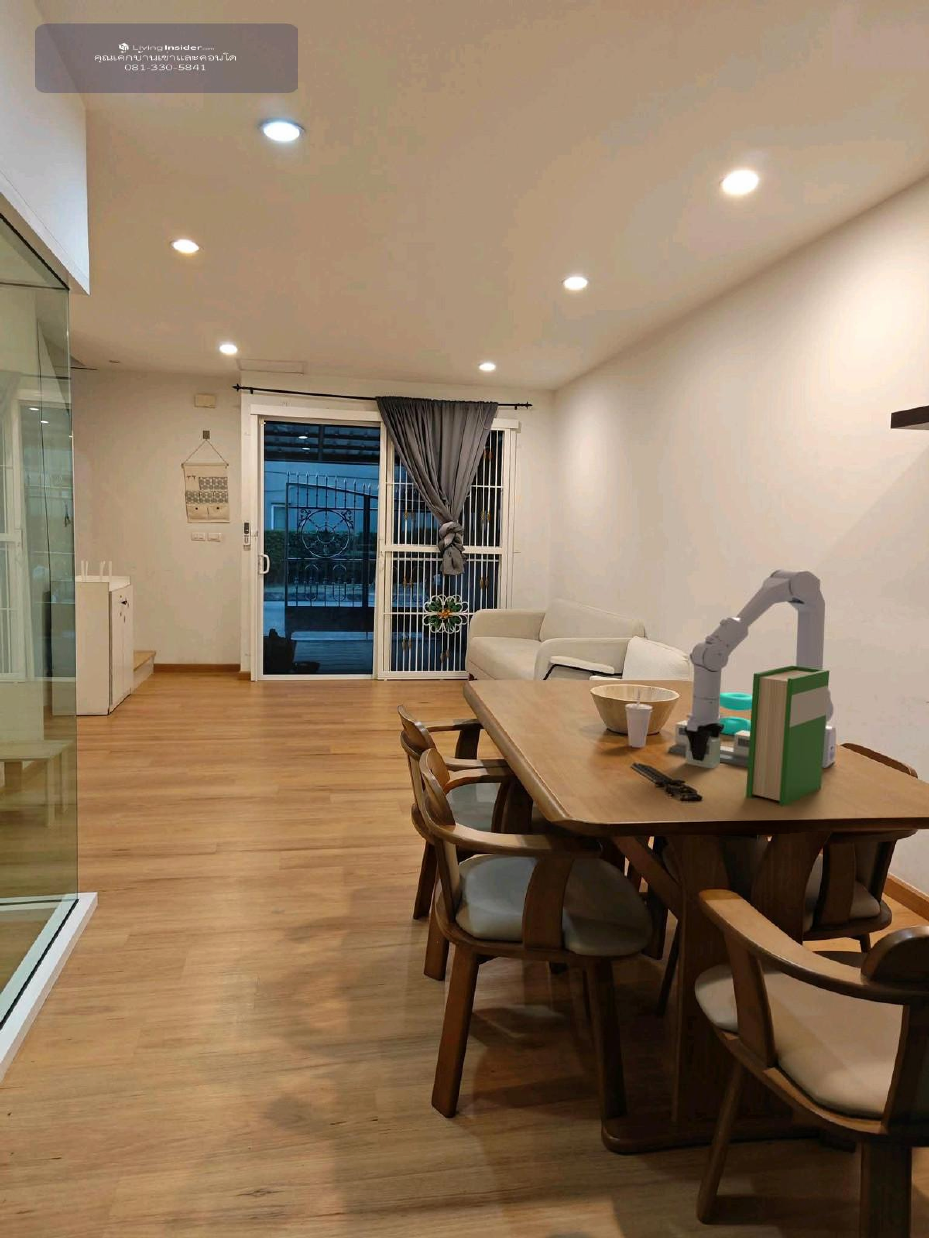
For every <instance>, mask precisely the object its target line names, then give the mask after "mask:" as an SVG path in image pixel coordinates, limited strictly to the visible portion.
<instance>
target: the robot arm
mask: <svg viewBox="0 0 929 1238" xmlns="http://www.w3.org/2000/svg"><path fill="white" fill-rule="evenodd" d="M785 602H787V603H788V604H789V605H790V606H791V607H793V608H794V609H795V610H796V611H797V633H796V636H797V637H796V655H795V656H796V660H795V661H796V663H795V666H799V667H806V668H814V669H822V670H824V669H823V668H824V665H823V663H824V646H825V645H824V641H825V639H824V638H825V617H826V616H825V615H826V603H825V599H824V597H823V594H822V591H821V580H820V579H819V578H818V576H816V575H815V574H814V573H812V572H811V571H809V570H790V569H789V570H787V569H776V570H775V571H773V572H772V573H771V574H770V575H769V577H767V578H765V579H764V580H763V582H762V586H761V587H760V589H759V590H758V591H756V593H755V594H754V596H752V597H751V599H750V600H749V601H748V602H747V604H746V605H744V607H743V608H742V609H741V610H740V611H739V612H738V614H737V615H736V616H731V617H730V616H729V617H727V618H726V619H724V618H722V620H721V621H719V624H720V625H719V626H718V627H717V628H716V629H715V630H714V631H713V632H712V633H711V634H710V635H707V636H706V637H705V640H704V641H702V642H698V643H697V644H696V645H694V647H693V649H692V652H691V653H690V654H689V660H690V662H691V663H692V666H693V686H692V688H693V689H692V701H691V707H692V708H691V713H687V714H686V718H688V720H686V721H687V726H686V727H685V733H686V735H687V737H688V739H689V742H690V747H691V752H692V757H693V759H694V760H699V761H703V759H704V756H705V750H706V745H707V742H708V739H709V737H710V736H711V737H717V738H720V735H721V734H722V733H721V732H722V730H723V729H724V725H723V724H719V723H718V722H720V721H721V719H722V718H723V717H722V715H723V713H722V712H720V694H721V688H722V687H721V684H722V669H723V668H725V667H727V665H728V663H729V656H730V655H731V654H732V652H733V651H734V650H735V649H736V648H737V647H738V646H739V645H740V644H741V643H742V642H744V640H745V639H746V638H747V636H749V627H750V626H752V624H754V622H756V621H757V620H758V619H759V618H760V617H761V616H763V614H764V613H765V612H767V611H768V610H769V609H770V608H771V607H772V606H773V605H775V604H780V603H785ZM831 699H832V698H831V691H830V689H829V688H828V697H827V711H826V725H825V739H824V752H823V766H822V769H823V768H825V769H826V768H828V767H829V766H831V765H832V764H833V763H835V762H836V759H835V755H836V754H835V753H836V743H837V731H836V730H837V729H836V727H835V726H832V725H828V722H829V721H830V720H831V719H832V717H833V715H834V710H835V709H834V705H833V702H832V700H831Z"/></svg>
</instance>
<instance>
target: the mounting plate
mask: <svg viewBox="0 0 929 1238" xmlns="http://www.w3.org/2000/svg"><path fill="white" fill-rule="evenodd" d="M687 721H688V720H686V719H685V720H682V721H679V722H677V723H675V731H674V734H675V735H674V742H675V744H673V745H672V746H669V747H668V752H670V753H675V754H680V755H685V756H686V744H687V735H686V733H685V727H686V726H687ZM749 740H750V731H744V730H742V731H740V732H737V733H735V734H734V735H733V747H732V746H727V745H722V744H721V750H720V763H725V764H729V765H734V766H737V767H738V766H739V767H745V768H748V756H749Z"/></svg>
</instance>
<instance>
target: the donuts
mask: <svg viewBox="0 0 929 1238" xmlns="http://www.w3.org/2000/svg"><path fill="white" fill-rule="evenodd" d="M720 706H721V707H722V708H724V709H727V710H730V711H742V712H743V711H751V709H752V694H748V693H744V692H743V693H742V692H722V693H721V692H720V705H719V707H720ZM718 723H719V724H723V725H724V729H723V730H722V732H721V733H720V734H723V735H724V734H725V735H727V736H728V735H729V736H734V734H735V733H737V732H740V731H742V730H744V731H750V724H751V720H749V719H746V718H743V717H739V716H738V717H736V716H726V717H722V719H721V721H720V722H718Z"/></svg>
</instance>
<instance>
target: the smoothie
mask: <svg viewBox="0 0 929 1238" xmlns="http://www.w3.org/2000/svg"><path fill="white" fill-rule="evenodd" d="M636 701H637V702H636V703H628V704H626V705H625V706H624V707H625V708H624V710H625V711H626V720H627V721H626V722H627V735H628V746H629V747H631V746H632V748H645V747H646V741H647V735H648V730H649V724H650V719H651V714H652V712H653V706H652V705H648V704H646V703H645V704H644V703H641V702H640V701H641V688H640V687H639V688H638V689H637V700H636Z"/></svg>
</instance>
